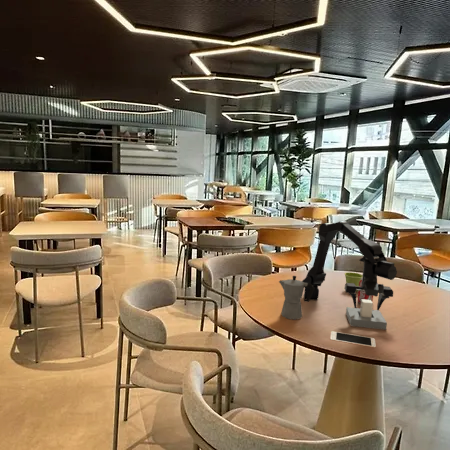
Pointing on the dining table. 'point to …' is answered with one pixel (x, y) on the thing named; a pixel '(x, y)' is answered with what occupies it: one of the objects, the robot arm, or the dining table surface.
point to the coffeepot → (294, 297)
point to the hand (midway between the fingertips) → (366, 309)
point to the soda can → (363, 294)
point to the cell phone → (353, 339)
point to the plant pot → (353, 278)
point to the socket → (366, 319)
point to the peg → (366, 308)
